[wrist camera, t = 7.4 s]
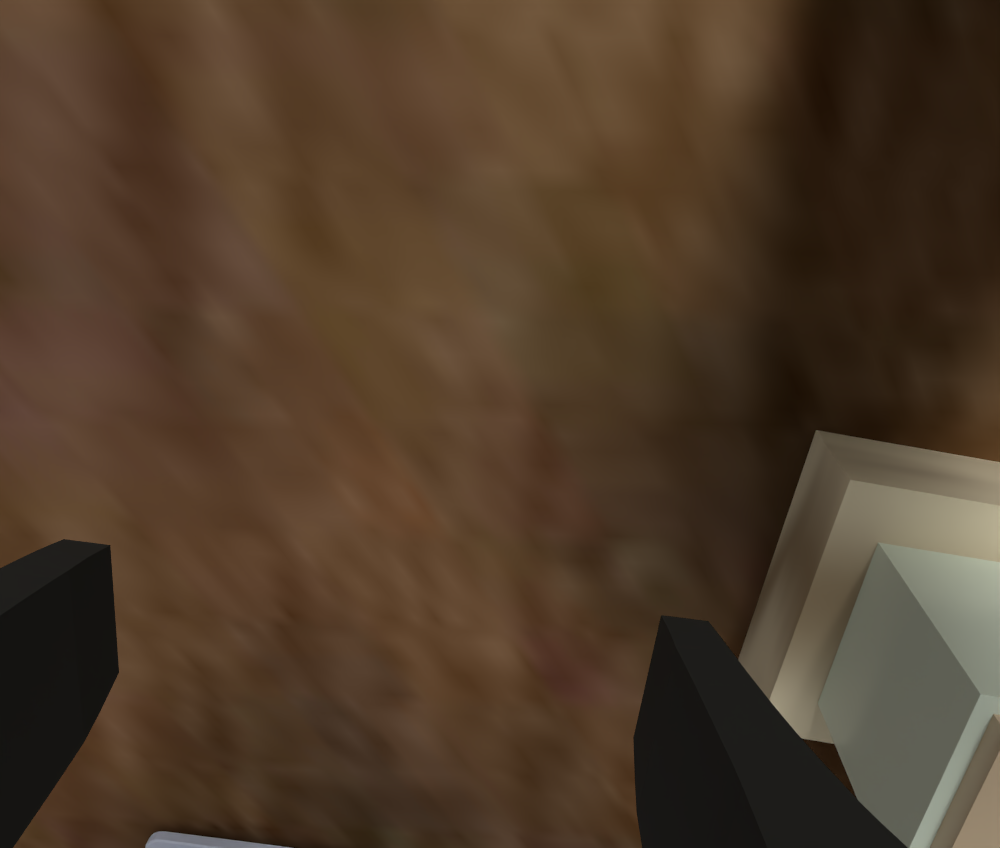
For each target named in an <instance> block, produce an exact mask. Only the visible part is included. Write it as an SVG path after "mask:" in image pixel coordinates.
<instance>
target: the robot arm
mask: <svg viewBox="0 0 1000 848" xmlns="http://www.w3.org/2000/svg"><path fill="white" fill-rule="evenodd" d="M118 673H119V667H118V652H117V638H116V623H115V609H114V594H113V580H112V565H111V551H110V545H104V544H96V543H89V542H81V541H73V540H65V539H63V540H61V541H59V542H56V543H54V544H51V545H49V546H46V547H44V548H42V549H40V550H37V551H35V552H33V553H31V554H29V555H27V556H25V557H23V558H20V559H18V560H16V561H14V562H12V563H10V564H8V565H6V566H4V567H2V568H0V848H13V847H14V845H15V844H16V842H17V841H18V840H19V838H20V837H21V835H22V834H23V832H24V831H25V829H26V828H27V826H28V825H29V823H30V822H31V820H32V819H33V818H34V816H35V815H36V813H37V812H38V810H39V809H40V807H41V806H42V804H43V803H44V801H45V800H46V799H47V797H48V796H49V794H50V793H51V791H52V790H53V788H54V787H55V785H56V784H57V782H58V781H59V779H60V778H61V776H62V775H63V773H64V772H65V770H66V769H67V767H68V766H69V764H70V763H71V761H72V760H73V758H74V757H75V755H76V754H77V752H78V751H79V749H80V747H81V746H82V744H83V743H84V741H85V739H86V737H87V736H88V734H89V732H90V730H91V728H92V726H93V724H94V722H95V720H96V718H97V716H98V714H99V712H100V711H101V708H102V706H103V704H104V702H105V700H106V698H107V696H108V694H109V692H110V690H111V688H112V686H113V683H114V681H115V679H116V677H117V675H118ZM634 764H635V788H636V807H637V816H638V823H639V829H640V836H641V842H642V848H908V847H907V846H906V845H904V844H903V843H902V842H901V841H900V840H899V839H898V838H897V837H896V836H895V835H894V834H893V833H892V832H890V831H889V830H888V829H887V828H886V827H885V826H884V825H883V824H882V823H881V822H880V821H879V820H878V819H877V818H876V817H875V816H874V815H873V814H872V813H871V812H870V811H869V810H867V809H866V808H865V807H864V806H863V805H862V804H861V803H860V802H859V801H858V800H857V798H856V797H855V796H854V795H853V794H852V793H851V792H850V791H849V790H848V789H847V788H846V787H845V786H844V785H843V784H842V783H841V782H840V780H839V779H838V778H837V777H836V776H835V775H834V774H833V773H832V772H831V771H830V770H829V769H828V768H827V767H826V765H825V764H824V763H823V762H822V761H821V760H820V759H819V758H818V757H817V756H816V755H815V753H814V752H813V751H812V750H811V749H810V748H809V747H808V745H807V744H806V743H805V742H804V741H803V740H802V739H801V737H800V736H799V735H798V734H797V733H796V732H795V730H794V729H793V728H792V727H791V726H790V725H789V723H788V722H787V721H786V720H785V719H784V717H783V716H782V715H781V714H780V712H779V711H778V710H777V709H776V708H775V706H774V705H773V704H772V703H771V701H770V700H769V699H768V698H767V696H766V695H765V694H764V693H763V691H762V690H761V689H760V688H759V686H758V685H757V684H756V683H755V681H754V680H753V679H752V677H751V676H750V675H749V674H748V672H747V671H746V670H745V668H744V667H743V666H742V665H741V663H740V662H739V661H738V659H737V658H736V657H735V655H734V654H733V653H732V651H731V650H730V649H729V648H728V646H727V645H726V644H725V642H724V641H723V640H722V638H721V637H720V636H719V634H718V633H717V632H716V631H715V629H714V628H713V627H712V625H711V624H710V623H709V622H708V621H702V620H694V619H686V618H678V617H671V616H663V615H661V619H660V623H659V628H658V632H657V637H656V641H655V645H654V650H653V654H652V659H651V663H650V668H649V672H648V676H647V681H646V685H645V690H644V694H643V698H642V703H641V707H640V712H639V716H638V721H637V725H636V729H635V734H634ZM145 848H292V847H284V846H277V845H269V844H261V843H253V842H245V841H237V840H230V839H222V838H214V837H206V836H198V835H190V834H183V833H175V832H167V831H159V832H156V833H153V834H152V835H151V836H150V838H149V840H148V842H147V844H146V847H145Z"/></svg>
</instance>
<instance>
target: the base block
mask: <svg viewBox="0 0 1000 848" xmlns="http://www.w3.org/2000/svg"><path fill="white" fill-rule="evenodd" d="M878 542H879V543H885V544H891V545H897V546H903V547H910V548H916V549H922V550H928V551H934V552H940V553H946V554H952V555H959V556H965V557H971V558H977V559H983V560H989V561H995V562H1000V462H995V461H990V460H984V459H978V458H972V457H967V456H961V455H955V454H950V453H944V452H938V451H933V450H927V449H921V448H915V447H910V446H904V445H898V444H893V443H887V442H881V441H876V440H870V439H864V438H858V437H853V436H847V435H841V434H836V433H830V432H824V431H819V430H816V432H815V434H814V437H813V440H812V443H811V446H810V449H809V452H808V455H807V458H806V461H805V464H804V467H803V470H802V473H801V476H800V479H799V482H798V485H797V487H796V490H795V493H794V496H793V499H792V502H791V505H790V508H789V511H788V514H787V517H786V520H785V523H784V526H783V529H782V532H781V535H780V538H779V540H778V543H777V546H776V549H775V552H774V555H773V558H772V561H771V564H770V567H769V570H768V573H767V576H766V579H765V582H764V585H763V588H762V591H761V593H760V596H759V599H758V602H757V605H756V608H755V611H754V614H753V617H752V620H751V623H750V626H749V629H748V632H747V635H746V638H745V641H744V644H743V646H742V649H741V652H740V655H739V658H738V661H739V662H740V663H741V665H742V666H743V667H744V668H745V670H746V671H747V672H748V674H749V675H750V676H751V677H752V679H753V680H754V681H755V683H756V684H757V685H758V686H759V688H760V689H761V690H762V691H763V693H764V694H765V695H766V696H767V698H768V699H769V700H770V701H771V703H772V704H773V705H774V706H775V708H776V709H777V710H778V711H779V712H780V714H781V715H782V716H783V717H784V719H785V720H786V721H787V722H788V723H789V725H790V726H791V727H792V728H793V729H794V730H795V732H796V733H797V734H798V735H799V736H800V737H801V738H802V739H808V740H814V741H820V742H826V743H832V744H834V742H833V739H832V737H831V734H830V732H829V730H828V727H827V725H826V722H825V720H824V717H823V715H822V713H821V710H820V708H819V705H818V701H819V699H820V696H821V693H822V691H823V688H824V685H825V683H826V680H827V677H828V675H829V672H830V669H831V667H832V664H833V661H834V658H835V656H836V653H837V650H838V648H839V645H840V642H841V640H842V637H843V634H844V632H845V629H846V626H847V624H848V621H849V618H850V616H851V613H852V610H853V608H854V605H855V602H856V600H857V597H858V594H859V592H860V589H861V586H862V584H863V581H864V578H865V576H866V573H867V570H868V568H869V565H870V563H871V560H872V557H873V555H874V552H875V549H876V547H877V544H878Z"/></svg>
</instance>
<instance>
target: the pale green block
mask: <svg viewBox="0 0 1000 848" xmlns="http://www.w3.org/2000/svg"><path fill="white" fill-rule="evenodd" d="M818 705H819V708H820V710H821V713H822V715H823V717H824V720H825V722H826V725H827V727H828V730H829V732H830V734H831V737H832V739H833V742H834V744H835V746H836V749H837V751H838V754H839V756H840V758H841V761H842V763H843V766H844V768H845V771H846V773H847V775H848V778H849V780H850V783H851V785H852V787H853V790H854V792H855V795H856V797H857V800H858V801H859V802H860V803H861V804H862V805H863V806H864V807H865V808H866V809H867V810H869V811H870V812H871V813H872V814H873V815H874V816H875V817H876V818H877V819H878V820H879V821H880V822H881V823H882V824H883V825H884V826H885V827H886V828H887V829H888V830H889V831H890V832H892V833H893V834H894V835H895V836H896V837H897V838H898V839H899V840H900V841H901V842H902V843H903V844H904V845H906V846H907V847H908V848H1000V562H995V561H989V560H983V559H977V558H971V557H965V556H959V555H952V554H946V553H940V552H934V551H928V550H922V549H916V548H910V547H903V546H897V545H891V544H885V543H879V542H878V544H877V547H876V549H875V552H874V555H873V557H872V560H871V563H870V565H869V568H868V570H867V573H866V576H865V578H864V581H863V584H862V586H861V589H860V592H859V594H858V597H857V600H856V602H855V605H854V608H853V610H852V613H851V616H850V618H849V621H848V624H847V626H846V629H845V632H844V634H843V637H842V640H841V642H840V645H839V648H838V650H837V653H836V656H835V658H834V661H833V664H832V667H831V669H830V672H829V675H828V677H827V680H826V683H825V685H824V688H823V691H822V693H821V696H820V699H819V701H818Z"/></svg>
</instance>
